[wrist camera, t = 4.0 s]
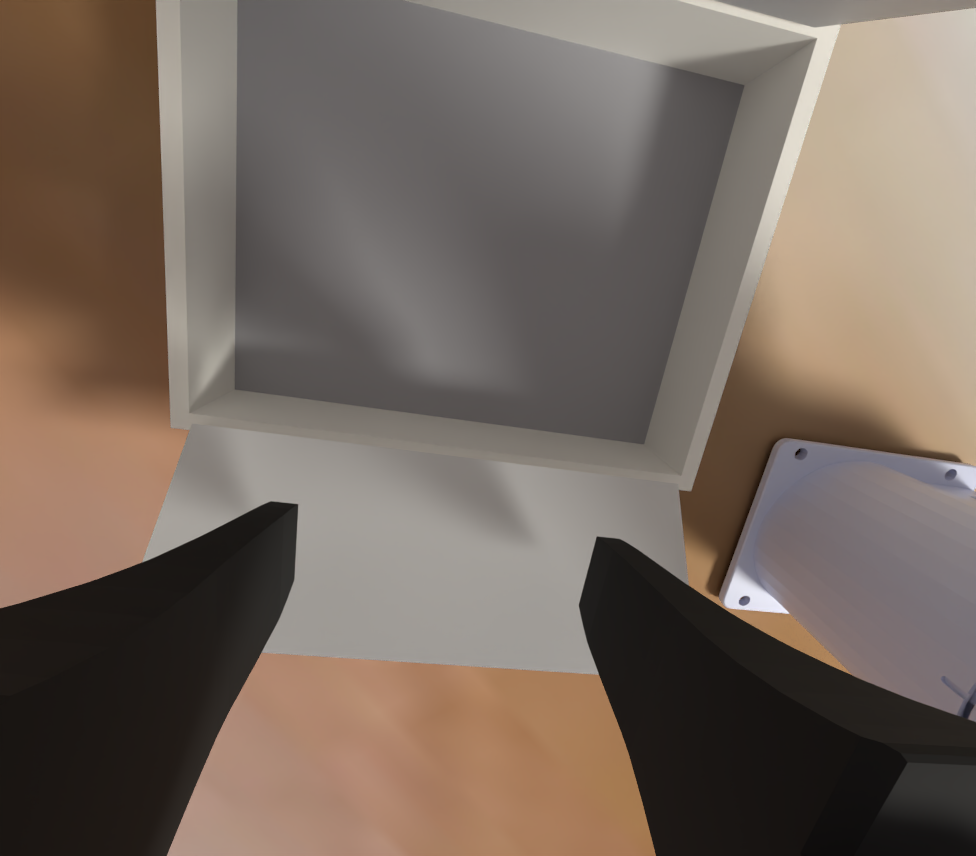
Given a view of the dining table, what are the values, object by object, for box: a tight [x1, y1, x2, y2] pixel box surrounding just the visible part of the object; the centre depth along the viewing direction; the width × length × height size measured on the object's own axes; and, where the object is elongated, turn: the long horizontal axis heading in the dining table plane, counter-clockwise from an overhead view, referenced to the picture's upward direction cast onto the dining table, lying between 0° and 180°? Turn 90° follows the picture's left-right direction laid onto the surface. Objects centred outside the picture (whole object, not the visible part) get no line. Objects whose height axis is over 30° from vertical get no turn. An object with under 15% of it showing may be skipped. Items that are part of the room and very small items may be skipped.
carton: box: [156, 0, 841, 491], centre depth 14 cm, size 16×13×4 cm
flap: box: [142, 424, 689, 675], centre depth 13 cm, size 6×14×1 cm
